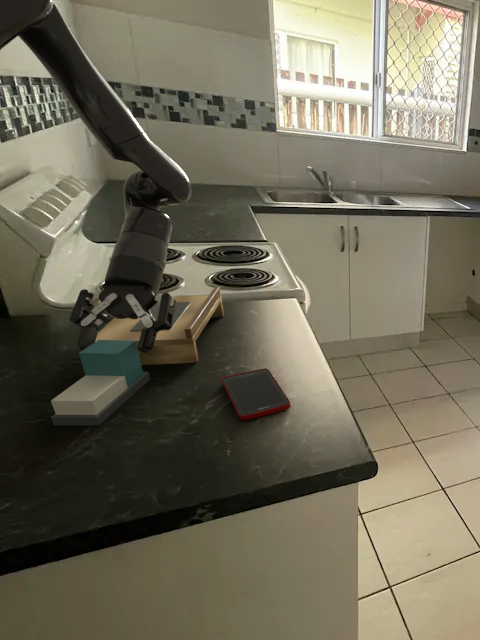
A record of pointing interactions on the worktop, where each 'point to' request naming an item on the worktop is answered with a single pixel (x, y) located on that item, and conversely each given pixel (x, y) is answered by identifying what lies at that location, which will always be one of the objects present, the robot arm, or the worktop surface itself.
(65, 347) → the worktop surface
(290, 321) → the worktop surface
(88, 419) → the trainer
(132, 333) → the shoe shelf
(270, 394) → the cell phone
